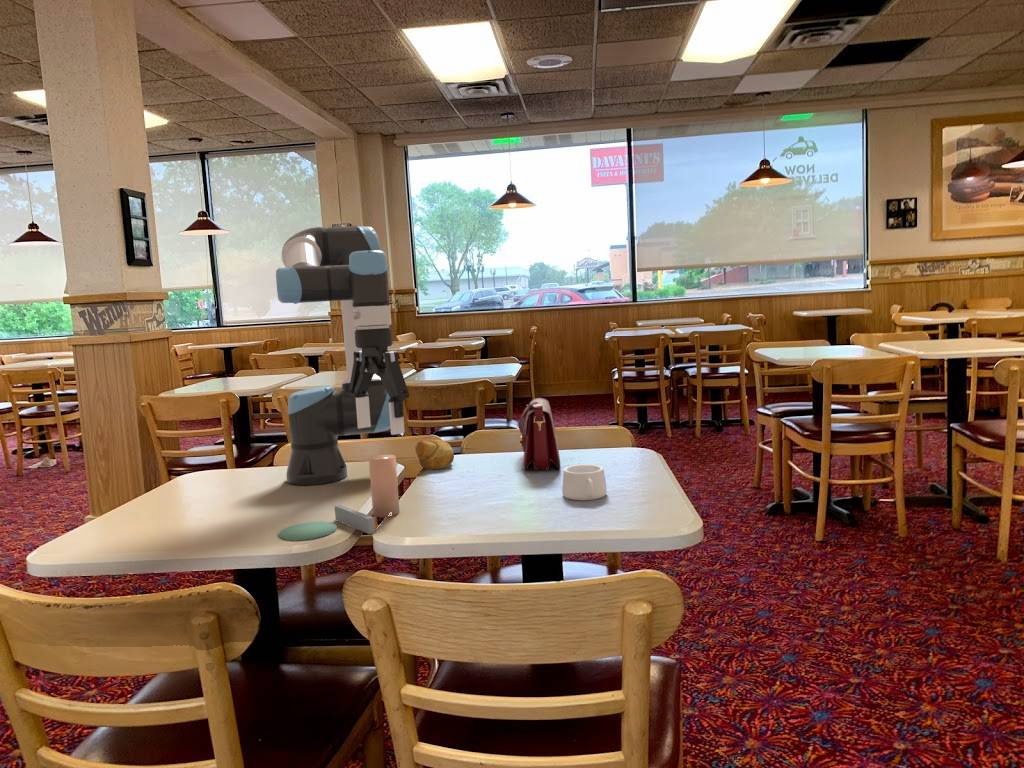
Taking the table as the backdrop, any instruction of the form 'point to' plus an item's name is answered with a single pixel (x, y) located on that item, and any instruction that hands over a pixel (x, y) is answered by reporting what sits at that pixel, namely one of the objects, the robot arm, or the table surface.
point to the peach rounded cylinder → (384, 485)
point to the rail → (355, 519)
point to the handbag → (539, 435)
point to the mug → (584, 482)
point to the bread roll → (434, 454)
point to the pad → (307, 530)
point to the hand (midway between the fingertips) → (380, 430)
